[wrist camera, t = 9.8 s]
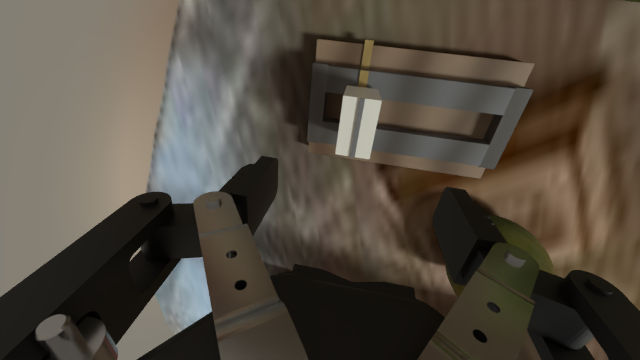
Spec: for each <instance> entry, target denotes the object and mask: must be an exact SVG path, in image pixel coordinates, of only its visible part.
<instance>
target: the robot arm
mask: <svg viewBox="0 0 640 360" xmlns="http://www.w3.org/2000/svg"><path fill="white" fill-rule="evenodd" d="M277 188H278V159H277V158H271V157H265V156H261V157H260V158H259V160H258V161H257V162H256V163H255V164H248V165H246V166H244V167H242V168H241V169H240V170H239V171H238V172H237V173H236V174H235V175H234V176H233V177H232V179H230V180H229V181H228V182H227V183H226V184H225V185H224V186H223V187H222V188H221V189H220V190H219V191H216V192H208V193H205V194H202V195H200V196H199V197H197V198H196V199H195V201H194V203H191V204H172V200H171V197H170V195H168V194H166V193H163V192H150V193H145V194H142V195H139V196H136V197H135V198H133V199H131V200H130V201H128V202H127V203H126V204H125V205H123V206H122V207H120V208H119V209H118V210H116V211H115V212H114V213H113V214H111V215H110V216H108V217H107V218H106V219H104V220H103V221H102V222H101V223H99V224H98V225H96V226H95V227H94V228H93V229H91V230H90V231H88V232H87V233H86V234H84V235H83V236H82V237H80V238H79V239H78V240H76V241H75V242H74V243H72V244H71V245H70V246H68V247H67V248H66V249H64V250H63V251H62V252H60V253H59V254H58V255H56V256H55V257H54V258H52V259H51V260H50V261H48V262H47V263H46V264H44V265H43V266H41V267H40V268H39V269H38V270H36V271H35V272H33V273H32V274H31V275H29V276H28V277H27V278H25V279H24V280H23V281H22V282H20V283H19V284H17V285H16V286H15V287H13V288H12V289H11V290H10V291H8V292H7V293H5V294H4V295H3V296H2V297H0V360H117V358H118V349H117V347H116V344H117V343H118V342H119V340H120V339H121V338H122V336H123V335H124V334H125V332H126V331H127V330H128V328H129V327H130V326H131V324H132V323H133V322H134V320H135V319H136V318H137V317H138V315H139V314H140V313H141V311H142V310H143V309H144V307H145V306H146V305H147V303H148V302H149V301H150V299H151V298H152V297H153V295H154V294H155V293H156V291H157V290H158V289H159V287H160V286H161V285H162V284H163V282H164V281H165V280H166V278H167V277H168V276H169V274H170V273H171V272H172V270H173V269H174V268H175V266H176V265H177V264H178V262H179V261H180V260H181V258H195V257H203V262H204V268H205V273H206V279H207V285H208V290H209V296H210V301H211V307H212V312H210V313H209V314H207V315H206V316H204V317H203V318H201V319H200V320H198V321H196V322H195V323H193V324H192V325H190V326H189V327H187V328H185V329H184V330H182V331H181V332H179V333H178V334H176V335H174V336H173V337H171V338H170V339H168V340H167V341H165V342H164V343H162V344H161V345H159V346H157V347H156V348H154V349H153V350H151V351H149V352H148V353H146V354H145V355H143V356H142V357H140V358H139V359H137V360H595V359H594V358H593V356H592V355H591V353H590V352H589V350H588V349H587V347H586V346H585V344H587V343H588V342H589V341H590V340H591V339H592V338H593V337H595V338H596V340H597V341H598V343H599V344H600V346H601V347H602V348H603V350H604V351H605V353H606V354H607V356H608V358H609V360H640V311H639V310H638V309H637V308H636V307H635V306H634V305H633V304H632V303H631V302H630V300H629V299H628V298H627V297H626V296H625V295H624V294H623V293H622V292H621V291H620V290H619V289H617V288H616V287H615V286H614V285H612V284H611V283H609V282H608V281H606V280H604V279H602V278H601V277H599V276H596V275H594V274H592V273H589V272H586V271H582V270H573V271H571V272H570V273H569V274H568V275H567V276H566V278H565V279H564V278H561V277H559V276H556V275H553V274H551V273H548V272H546V271H543V270H540V266H539V264H538V262H537V261H536V260H535V258H534V257H532V256H531V255H530V254H529V253H527V252H526V251H524V250H523V249H521V248H519V247H517V246H514V245H511V244H508V243H507V241H506V240H505V238H504V237H503V236H502V234H501V233H500V231H499V230H498V228H497V227H496V225H494V222H493V221H492V220H491V219H490V217H489V215H488V214H487V212H486V211H485V210H484V209H483V208H482V207H481V206H479V205H478V204H477V203H476V202H473V201H472V199H471V198H470V196H469V195H468V193H467V192H466V190H463V189H457V188H451V187H446V188H445V189H444V191H443V193H442V196H441V198H440V201H439V203H438V206H437V208H436V210H435V213H434V216H433V228H434V230H435V233H436V236H437V239H438V242H439V245H440V247H441V250H442V253H443V256H444V259H445V262H446V264H447V267H448V270H449V273H450V276H451V279H452V281H453V283H454V284H459V285H464V286H466V287H465V288H464V290H463V291H462V293H461V295H460V296H459V298H458V299H457V301H456V302H455V304H454V305H453V307H452V308H451V310H450V311H449V313H448V314H447V316H446V317H445V318H444V317H443V316H442V315H441V314H440V313H439V312H437V311H436V310H435V309H433V308H432V307H430V306H429V305H427V304H426V303H424V302H422V301H420V300H418V299H416V298H415V293H414V288H412V287H407V286H402V285H397V284H392V283H387V282H351V281H348V280H346V279H344V278H341V277H339V276H337V275H334V274H332V273H330V272H327V271H325V270H322V269H317V268H312V267H308V266H303V265H298V264H294V267H293V271H292V273H283V274H278V275H274V276H271V277H270V276H269V274H268V272H267V269H266V267H265V264H264V262H263V260H262V257H261V255H260V253H259V250H258V248H257V245H256V243H255V241H254V238H253V235H254V233H255V231H256V230H257V228H258V226H259V224H260V223H261V221H262V219H263V218H264V216H265V214H266V212H267V211H268V209H269V207H270V205H271V204H272V202H273V200H274V199H275V196H276V193H277ZM140 247H141V251H140V252H139V253H138V254H137V255H136V256H135V257H134V258H133V259H132V260H131V261H130V259H131V257H132V255H133V254H134V253H135V252H136V251H137V250H138V249H139V248H140ZM129 261H130V262H129Z"/></svg>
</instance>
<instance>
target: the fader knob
mask: <svg viewBox="0 0 640 360" xmlns="http://www.w3.org/2000/svg"><path fill="white" fill-rule="evenodd" d="M381 103H382V99H381V95H380V92H379V89H372V88H364V87H356V86H348V85H347V87H346V90H345V92H344V95H343V101H342V109H341V116H340V123H339V130H338V138H337V145H336V152H335V154H337V155H343V156H350V158H355V157H357V158H363V159H370V154H371V150H372V145H373V140H374V136H375V131H376V126H377V122H378V117H379V112H380V108H381Z"/></svg>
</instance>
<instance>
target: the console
mask: <svg viewBox="0 0 640 360" xmlns="http://www.w3.org/2000/svg"><path fill="white" fill-rule="evenodd" d="M373 43H374V41H373V40H365V44H360V43H351V42H343V41H334V40H325V39H317V49H316V62H314V63H313V66H312V79H311V92H310V106H309V119H308V132H307V142H309V149H308V152H309V153H315V154H322V155H329V156H335V157H342V158H348V159H355V160H361V161H368V162H375V163H381V164H388V165H394V166H401V167H407V168H414V169H421V170H427V171H434V172H440V173H447V174H453V175H460V176H467V177H473V178H481V176H482V174H483V172H484V170H485V168H488V169H495V167H496V165H497V163H498V161H499V159H500V157H501V155H502V153H503V151H504V149H505V147H506V145H507V143H508V141H509V139H510V136H511V134H512V132H513V130H514V128H515V126H516V124H517V122H518V120H519V118H520V116H521V114H522V112H523V110H524V108H525V106H526V104H527V102H528V100H529V98H530V96H531V94H532V92H533V90H532V89H529V88H526V87H524V86H525V83H526V81H527V79H528V77H529V75H530V73H531V71H532V69H533V67H534V65H535V64H533V63H526V62H518V61H510V60H501V59H492V58H483V57H474V56H466V55H457V54H448V53H439V52H431V51H422V50H413V49H404V48H395V47H387V46H378V45H373ZM347 85H348V86H356V87H364V88H372V89H379V92H380V95H381V99H382V103H381V108H380V112H379V117H378V122H377V126H376V131H375V136H374V140H373V145H372V150H371V154H370V159H363V158H357V157H355V158H350V156H343V155H337V154H335V152H336V145H337V138H338V130H339V123H340V116H341V109H342V101H343V95H344V92H345V90H346V87H347Z"/></svg>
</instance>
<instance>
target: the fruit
mask: <svg viewBox="0 0 640 360" xmlns="http://www.w3.org/2000/svg"><path fill="white" fill-rule="evenodd" d="M489 217H490V219H491V220H492V221H493V222H494V225H496V227H497V228H498V230H499V231H500V233H501V234H502V236H503V237H504V238H505V240H506V241H507V243H508V244H511V245H514V246H517V247H519V248H521V249H523V250H524V251H526V252H527V253H529V254H530V255H531V256H532V257H534V258H535V260H536V261H537V262H538V264H539V266H540V270H543V271H546V272H548V273H551V274H553V275H555V270H554V266H553V264H552V261H551V259H550V257H549V255H548V253H547V252H546V250H545V249H544V247H543V246H542V245H541V243H540V242H539V241H538V240H537V239H536V238H535V237H534V236H533V235H532V234H531V233H530V232H529V231H527V230H526V229H524V228H523V227H521V226H520V225H518V224H516V223H514V222H512V221H510V220H508V219H505V218H502V217H499V216H494V215H489ZM445 265H446V272H447V276H448V279H449V281H450V284H451V286H452V288H453V290H454V292H455V293H456V295H457V296H458V298H459V296H460V295H461V293H462V291H463V290H464V288H465V287H466V286H464V285H459V284H454V283H453V281H452V279H451V276H450V273H449V270H448V267H447V264H446V262H445Z"/></svg>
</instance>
